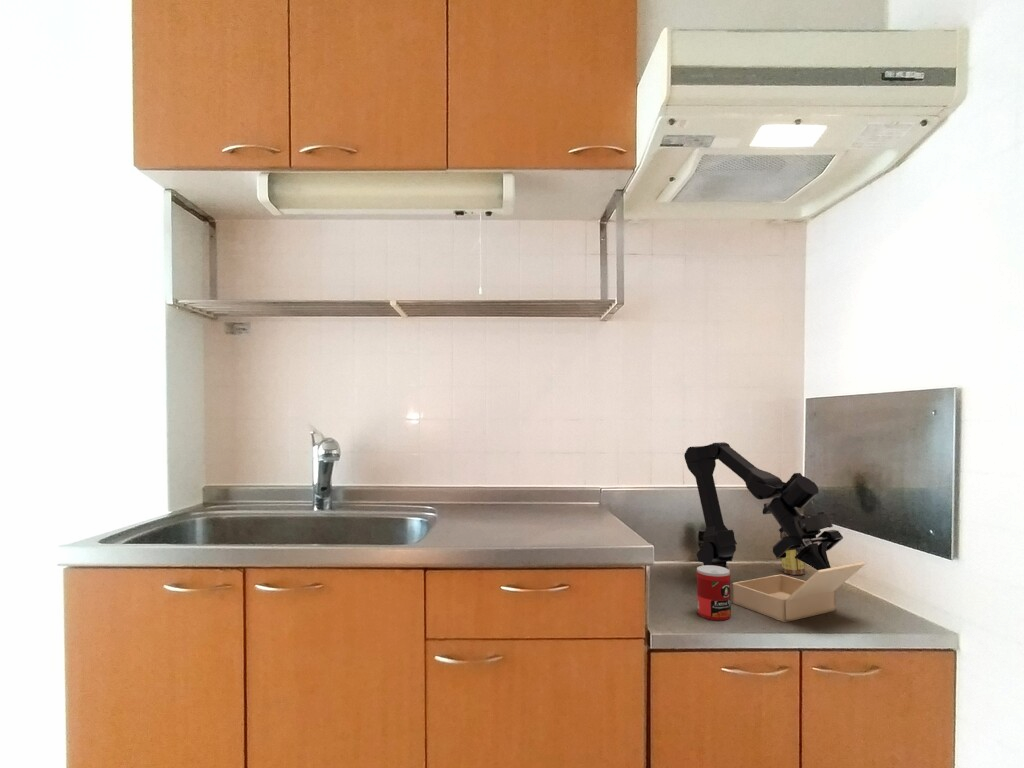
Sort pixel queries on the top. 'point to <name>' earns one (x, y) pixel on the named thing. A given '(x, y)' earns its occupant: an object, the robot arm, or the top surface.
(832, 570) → the carton flap
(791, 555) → the sauce bottle
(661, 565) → the top surface
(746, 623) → the top surface
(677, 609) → the top surface
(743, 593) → the carton
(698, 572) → the canned food
